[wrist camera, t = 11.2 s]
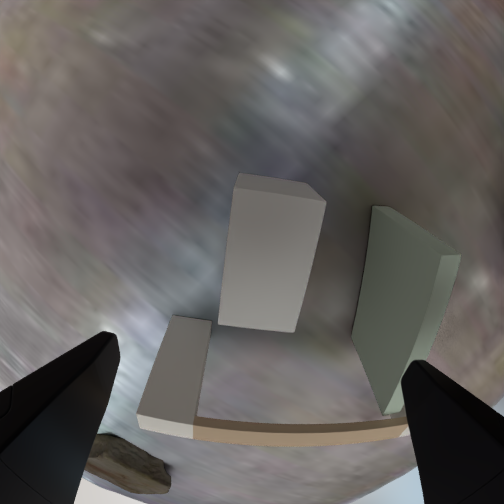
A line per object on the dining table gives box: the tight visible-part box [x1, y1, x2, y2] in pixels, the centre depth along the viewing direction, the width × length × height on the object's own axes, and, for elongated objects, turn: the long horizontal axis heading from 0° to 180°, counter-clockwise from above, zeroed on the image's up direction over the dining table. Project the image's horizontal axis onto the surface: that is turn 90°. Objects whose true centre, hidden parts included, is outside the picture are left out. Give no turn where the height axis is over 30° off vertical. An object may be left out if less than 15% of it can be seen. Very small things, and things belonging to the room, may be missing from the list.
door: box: [351, 206, 462, 416], centre depth 15 cm, size 10×2×8 cm, turn 1°
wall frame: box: [136, 315, 410, 447], centre depth 17 cm, size 18×2×9 cm, turn 82°
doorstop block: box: [218, 173, 327, 333], centre depth 16 cm, size 4×7×5 cm, turn 172°
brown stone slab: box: [84, 434, 171, 494], centre depth 29 cm, size 17×15×4 cm
